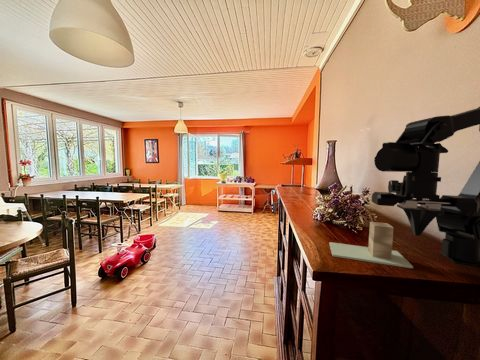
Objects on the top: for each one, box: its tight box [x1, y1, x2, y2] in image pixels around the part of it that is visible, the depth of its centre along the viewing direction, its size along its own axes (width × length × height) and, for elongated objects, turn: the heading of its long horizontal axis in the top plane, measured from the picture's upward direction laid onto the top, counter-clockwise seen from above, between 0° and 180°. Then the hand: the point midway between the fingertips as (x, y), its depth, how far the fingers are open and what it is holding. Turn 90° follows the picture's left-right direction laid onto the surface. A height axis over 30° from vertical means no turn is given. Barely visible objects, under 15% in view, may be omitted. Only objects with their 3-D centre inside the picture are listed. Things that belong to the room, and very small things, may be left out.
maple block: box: [367, 221, 394, 259], centre depth 52 cm, size 4×4×8 cm
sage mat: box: [328, 241, 414, 269], centre depth 53 cm, size 17×9×1 cm, turn 71°
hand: (416, 235), depth 49 cm, fingers closed
